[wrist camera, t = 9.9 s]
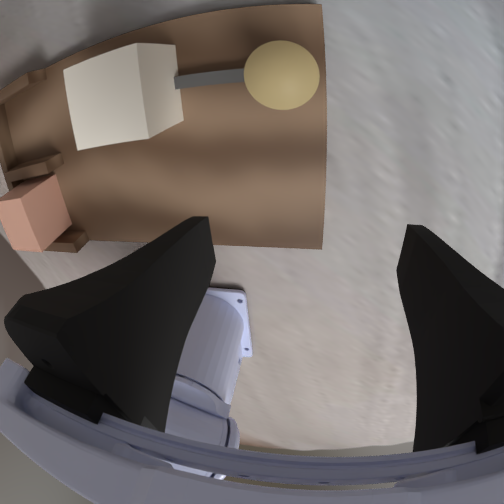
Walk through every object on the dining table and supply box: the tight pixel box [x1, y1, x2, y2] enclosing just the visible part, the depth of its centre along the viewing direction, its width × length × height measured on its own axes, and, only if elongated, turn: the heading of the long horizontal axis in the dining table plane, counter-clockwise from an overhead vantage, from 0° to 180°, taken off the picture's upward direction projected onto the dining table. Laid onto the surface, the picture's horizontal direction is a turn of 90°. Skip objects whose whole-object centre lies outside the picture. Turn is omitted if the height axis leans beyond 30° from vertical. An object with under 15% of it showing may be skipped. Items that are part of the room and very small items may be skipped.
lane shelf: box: [0, 4, 327, 253], centre depth 18 cm, size 16×28×3 cm, turn 94°
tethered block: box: [63, 40, 320, 150], centre depth 13 cm, size 5×13×5 cm, turn 94°
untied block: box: [0, 174, 72, 252], centre depth 21 cm, size 5×5×4 cm
